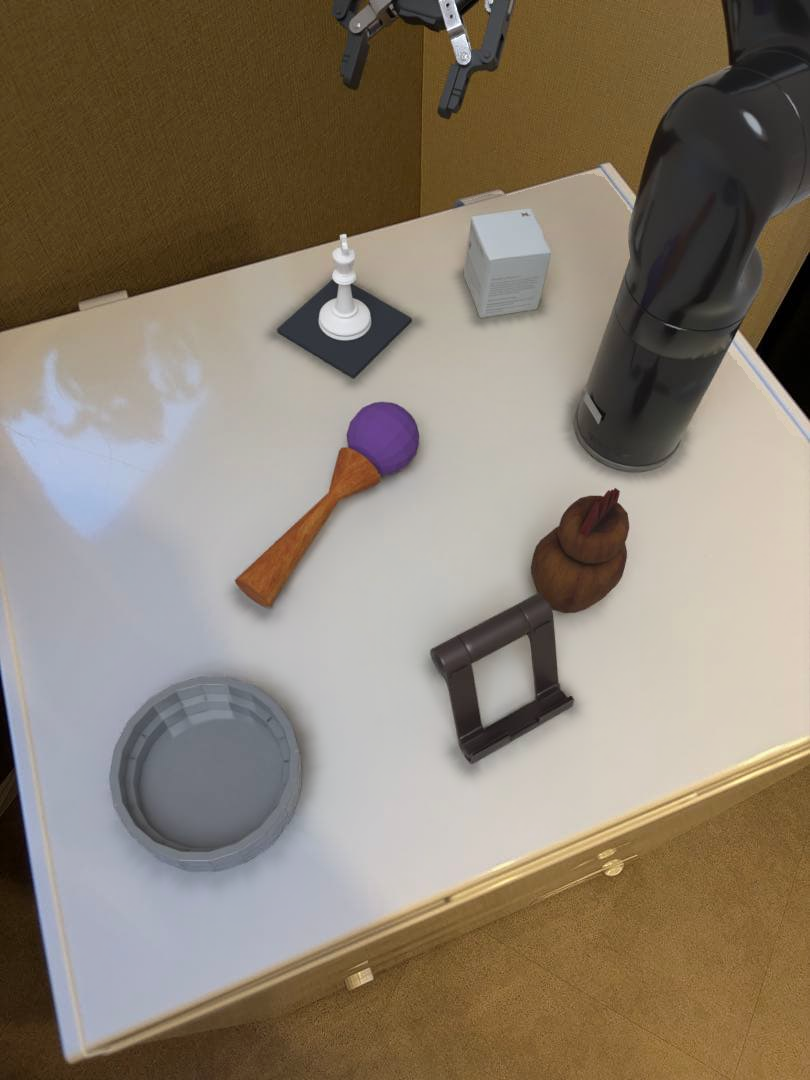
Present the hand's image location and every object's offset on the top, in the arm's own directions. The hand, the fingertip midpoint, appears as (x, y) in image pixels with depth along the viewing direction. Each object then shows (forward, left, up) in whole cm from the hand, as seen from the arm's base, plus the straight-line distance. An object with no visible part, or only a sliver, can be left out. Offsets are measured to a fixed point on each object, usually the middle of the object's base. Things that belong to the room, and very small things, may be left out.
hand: (396, 101), depth 74 cm
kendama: (+27, +14, -17) cm, 35 cm away
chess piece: (+10, +2, -16) cm, 19 cm away
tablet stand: (+32, +33, -17) cm, 49 cm away
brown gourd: (+21, +33, -17) cm, 43 cm away
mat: (+10, +2, -17) cm, 20 cm away
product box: (-3, +11, -17) cm, 20 cm away
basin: (+49, +21, -17) cm, 56 cm away
